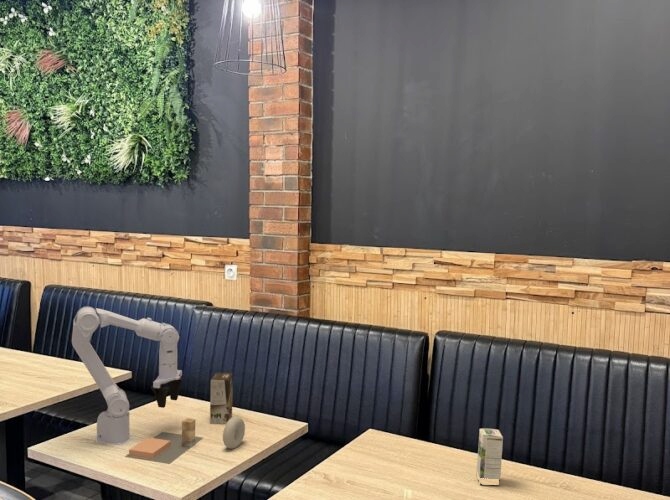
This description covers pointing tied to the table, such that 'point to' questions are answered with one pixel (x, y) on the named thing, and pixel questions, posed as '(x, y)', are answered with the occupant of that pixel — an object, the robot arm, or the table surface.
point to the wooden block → (188, 432)
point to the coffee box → (221, 398)
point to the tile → (149, 448)
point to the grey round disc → (233, 432)
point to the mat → (173, 451)
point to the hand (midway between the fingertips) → (167, 403)
